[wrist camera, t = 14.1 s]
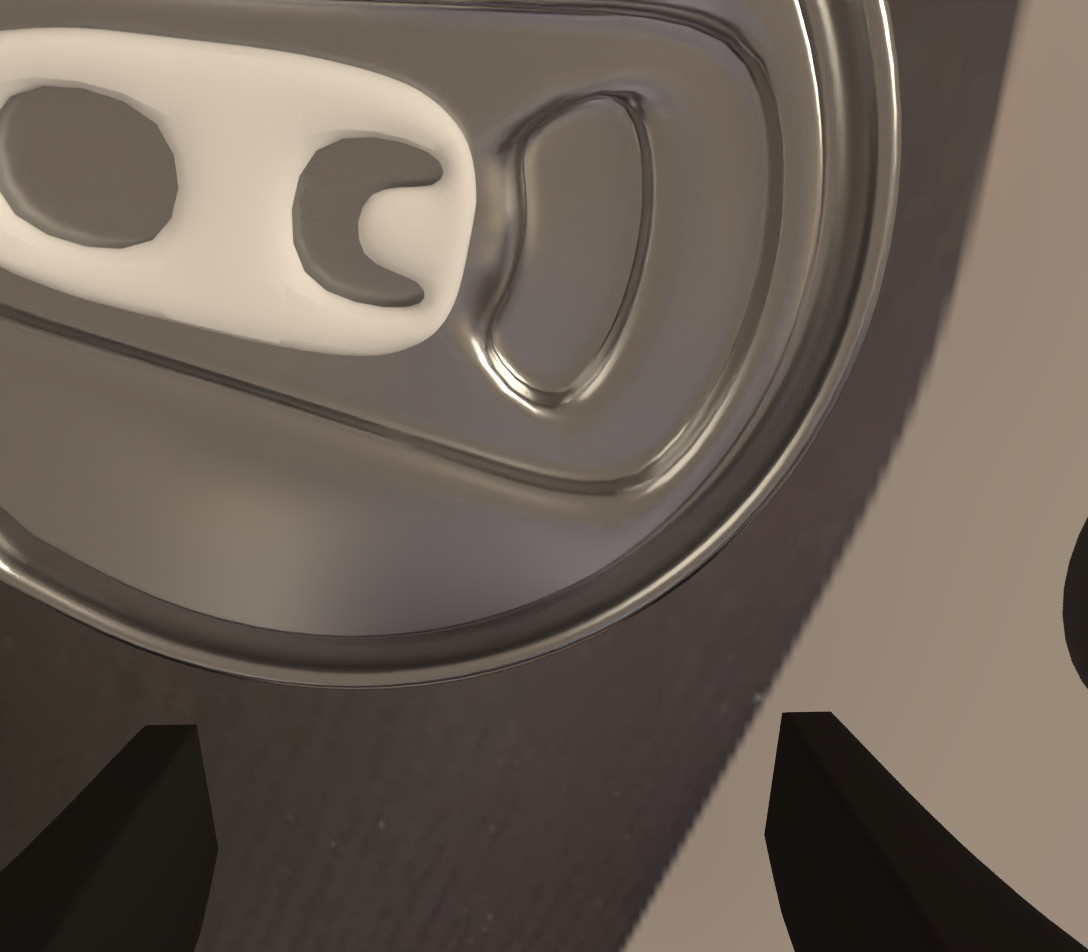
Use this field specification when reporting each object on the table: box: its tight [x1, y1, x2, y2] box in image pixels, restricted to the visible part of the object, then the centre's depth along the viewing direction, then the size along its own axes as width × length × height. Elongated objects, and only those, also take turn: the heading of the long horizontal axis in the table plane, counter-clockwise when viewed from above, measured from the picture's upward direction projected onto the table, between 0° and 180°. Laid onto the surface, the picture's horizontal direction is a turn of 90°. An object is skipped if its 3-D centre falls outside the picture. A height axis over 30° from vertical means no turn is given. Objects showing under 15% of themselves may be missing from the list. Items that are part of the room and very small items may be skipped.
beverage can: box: [0, 0, 901, 690], centre depth 9 cm, size 5×5×12 cm
